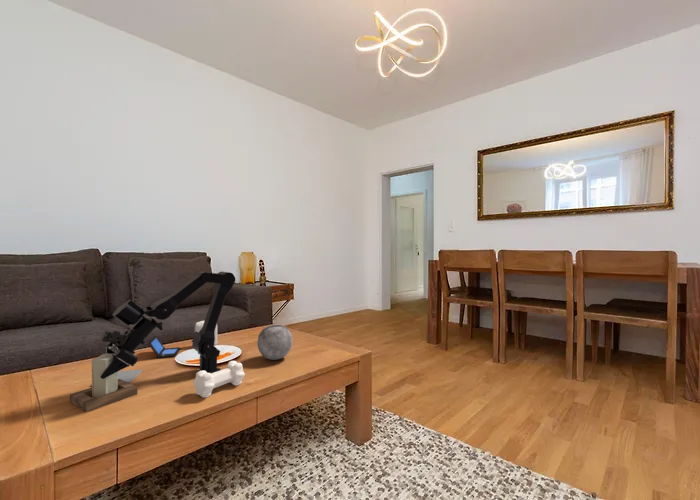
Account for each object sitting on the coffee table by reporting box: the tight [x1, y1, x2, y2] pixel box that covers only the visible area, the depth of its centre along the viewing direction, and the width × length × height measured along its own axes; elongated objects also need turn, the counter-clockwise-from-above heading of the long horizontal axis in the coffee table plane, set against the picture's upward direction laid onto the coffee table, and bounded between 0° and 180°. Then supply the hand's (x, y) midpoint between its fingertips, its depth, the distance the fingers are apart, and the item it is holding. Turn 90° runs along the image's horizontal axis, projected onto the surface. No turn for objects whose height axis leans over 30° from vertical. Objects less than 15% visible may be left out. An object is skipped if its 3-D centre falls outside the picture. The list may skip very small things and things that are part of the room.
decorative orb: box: [256, 323, 294, 361], centre depth 145 cm, size 15×14×15 cm
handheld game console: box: [148, 336, 181, 360], centre depth 151 cm, size 12×11×7 cm
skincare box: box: [91, 353, 118, 398], centre depth 108 cm, size 6×4×12 cm
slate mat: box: [90, 368, 143, 387], centre depth 124 cm, size 12×12×1 cm
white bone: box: [192, 360, 246, 399], centre depth 115 cm, size 15×9×8 cm, turn 143°
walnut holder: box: [69, 379, 138, 413], centre depth 108 cm, size 12×14×2 cm
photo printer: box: [194, 319, 218, 346], centre depth 164 cm, size 10×4×12 cm, turn 123°
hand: (99, 374), depth 107 cm, fingers closed on skincare box, 7 cm apart
